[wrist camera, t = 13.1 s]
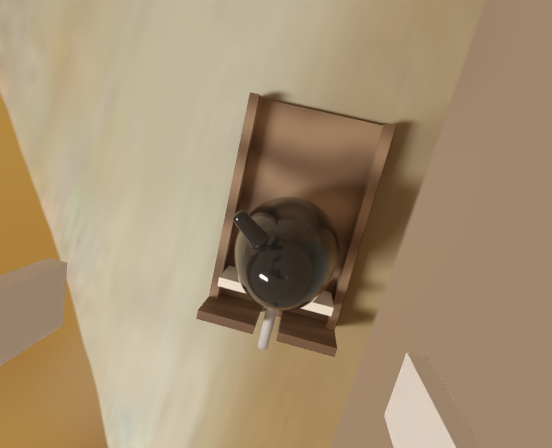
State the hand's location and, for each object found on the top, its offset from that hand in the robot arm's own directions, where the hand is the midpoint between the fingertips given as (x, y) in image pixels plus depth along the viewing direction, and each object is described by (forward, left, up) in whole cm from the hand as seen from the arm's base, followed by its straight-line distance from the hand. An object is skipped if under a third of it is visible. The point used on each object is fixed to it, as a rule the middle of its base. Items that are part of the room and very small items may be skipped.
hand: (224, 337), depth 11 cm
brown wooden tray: (0, +1, -25) cm, 25 cm away
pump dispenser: (+2, +1, -24) cm, 24 cm away
